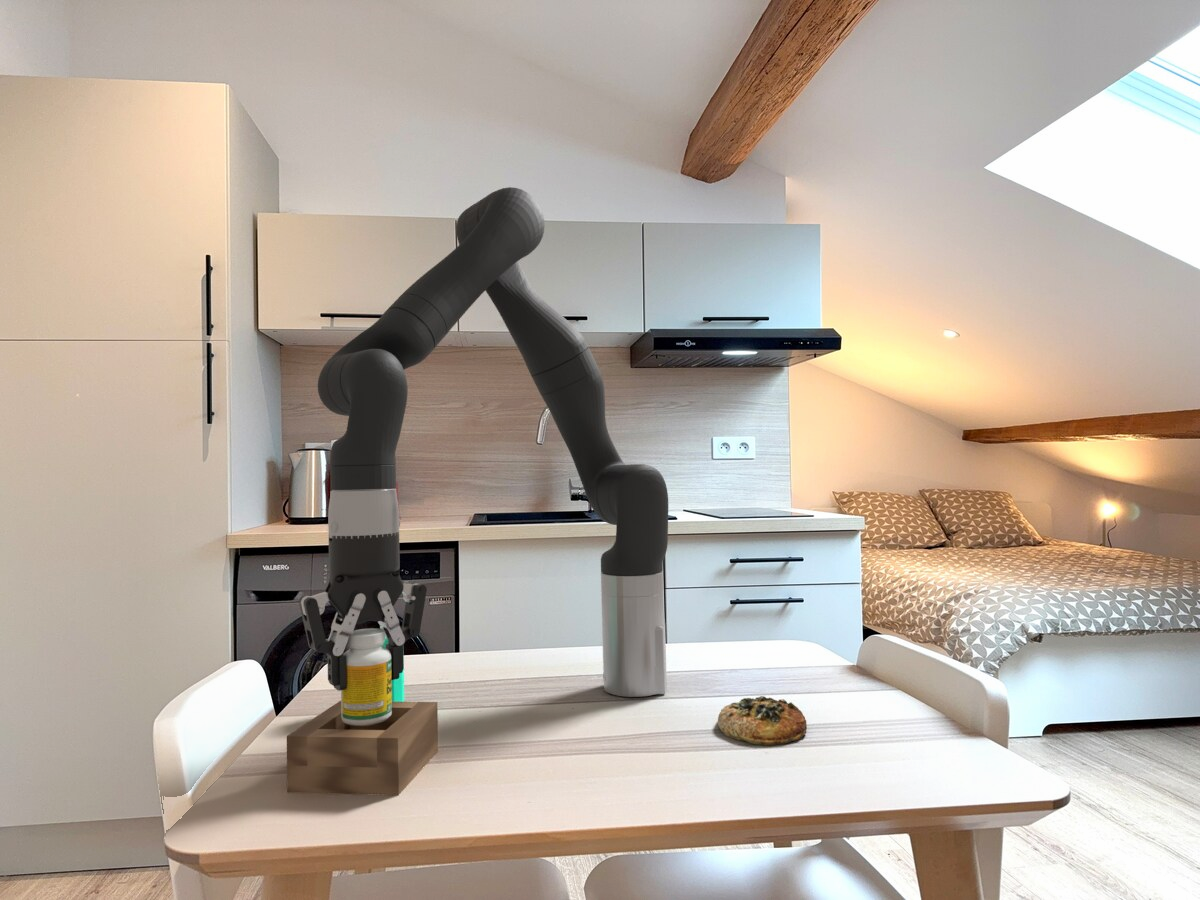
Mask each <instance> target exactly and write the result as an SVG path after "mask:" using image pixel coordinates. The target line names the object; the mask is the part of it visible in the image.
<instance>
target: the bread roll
mask: <svg viewBox="0 0 1200 900" xmlns="http://www.w3.org/2000/svg"><path fill="white" fill-rule="evenodd" d="M717 726H718V728H719V730H721V732H722V733H723V734H724V735H725V736H726V737H728V738H732V739H734V740H739V741H745V742H747V743H749V744H752V745H761V746H776V745H785V744H787V743H790V742H793V741H794V742H795V741H799V740H801V739H802V738H803V737H805V735H806V734H807V729H808V727H807V726H808V725H807V720H806V717H805V715H804V714H803V711H801V710H800V709H799V708H798V706H797V705H795V704H794V703H793V702H792V701H790V702H787V700H785V699H784V698H782V699H781V698H780V699H778V700H776V699H774V698H772V697H766V696H765V695H760V696H758V697H755V698H753V697H752V698H750V697H745V698H744V697H743V698H742V699H741V700H739V701H738V702H732V703H730V704H728V705H725V706H724V707H723V708H722V709H721V710H720V712H719V713H718V716H717Z"/></svg>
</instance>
